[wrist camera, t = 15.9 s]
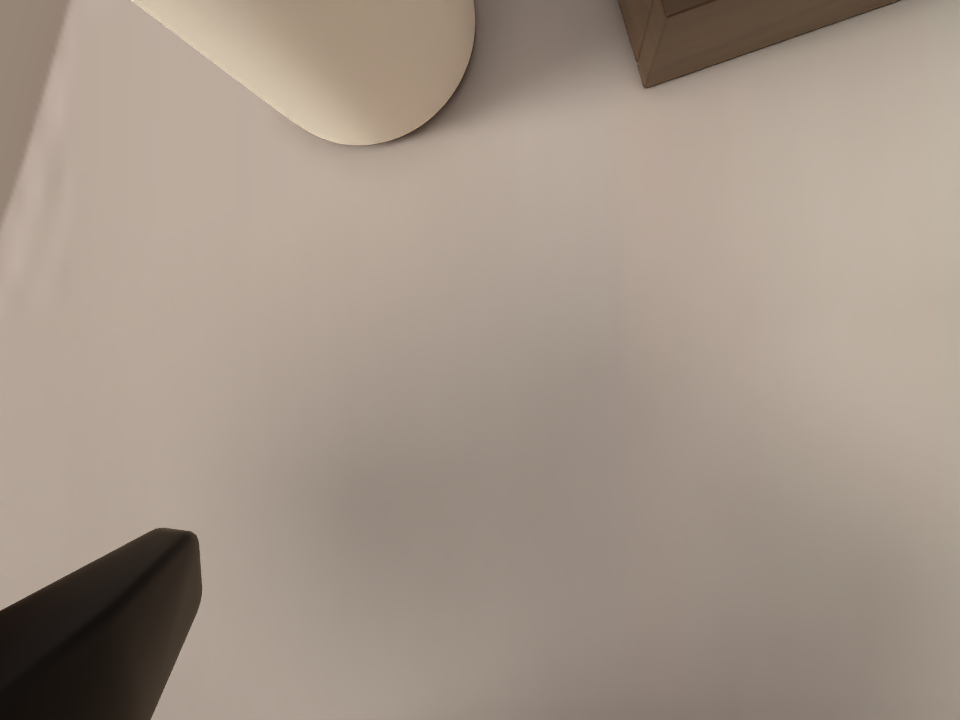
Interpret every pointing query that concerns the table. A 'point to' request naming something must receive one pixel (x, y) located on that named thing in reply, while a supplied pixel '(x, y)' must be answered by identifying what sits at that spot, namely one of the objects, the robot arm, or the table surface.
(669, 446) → the table surface
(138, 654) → the robot arm
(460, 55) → the can
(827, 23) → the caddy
